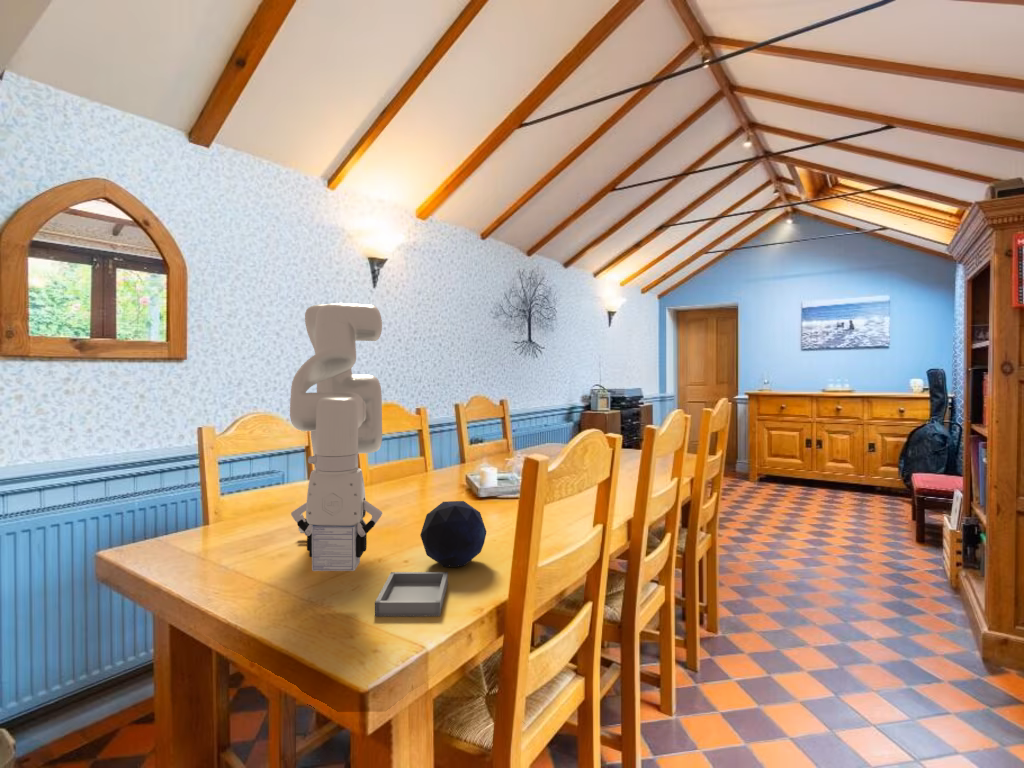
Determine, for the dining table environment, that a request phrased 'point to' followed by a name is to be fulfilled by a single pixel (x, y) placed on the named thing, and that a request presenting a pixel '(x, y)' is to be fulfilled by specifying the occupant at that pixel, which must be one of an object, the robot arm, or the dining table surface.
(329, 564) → the medicine box
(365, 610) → the dining table surface
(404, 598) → the tray
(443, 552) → the decorative orb
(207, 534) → the dining table surface
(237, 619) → the dining table surface
